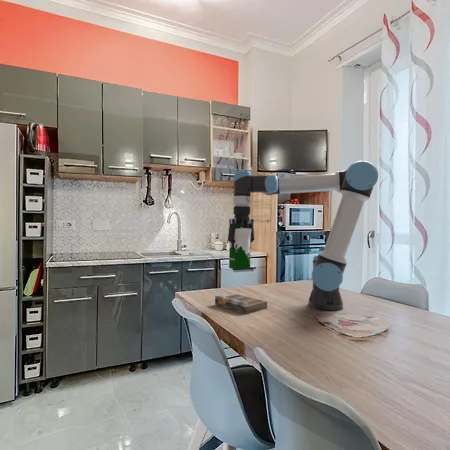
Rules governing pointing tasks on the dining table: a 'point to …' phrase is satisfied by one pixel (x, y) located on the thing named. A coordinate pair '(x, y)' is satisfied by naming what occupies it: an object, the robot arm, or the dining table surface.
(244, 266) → the soya milk
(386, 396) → the dining table surface
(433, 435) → the dining table surface
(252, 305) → the brown flat box
